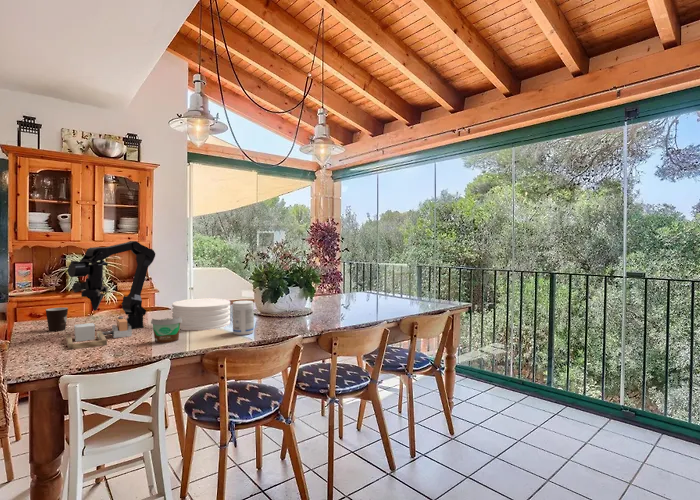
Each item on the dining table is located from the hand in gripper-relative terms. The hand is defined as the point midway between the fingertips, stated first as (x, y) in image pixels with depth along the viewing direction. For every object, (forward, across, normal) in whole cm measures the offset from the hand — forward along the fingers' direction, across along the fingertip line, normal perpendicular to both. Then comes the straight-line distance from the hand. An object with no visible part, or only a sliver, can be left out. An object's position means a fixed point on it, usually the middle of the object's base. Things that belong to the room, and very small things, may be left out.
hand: (95, 310), depth 186 cm
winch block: (+11, +3, +9) cm, 15 cm away
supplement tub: (+11, +12, +64) cm, 66 cm away
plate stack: (+11, -14, +45) cm, 48 cm away
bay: (+11, +12, 0) cm, 17 cm away
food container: (+11, +20, +32) cm, 39 cm away
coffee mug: (+12, -18, -19) cm, 28 cm away
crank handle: (+8, +3, +11) cm, 14 cm away
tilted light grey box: (+11, +6, -2) cm, 13 cm away
